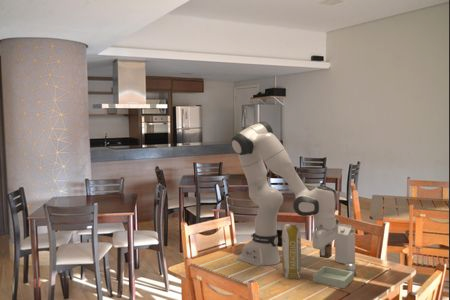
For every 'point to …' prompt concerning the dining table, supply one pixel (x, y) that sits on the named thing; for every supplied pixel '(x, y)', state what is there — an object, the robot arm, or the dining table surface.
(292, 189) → the robot arm
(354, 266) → the aluminium bushing
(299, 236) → the juice carton
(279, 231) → the coffee mug
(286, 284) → the dining table surface
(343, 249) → the milk carton
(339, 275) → the tray
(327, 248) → the walnut block
